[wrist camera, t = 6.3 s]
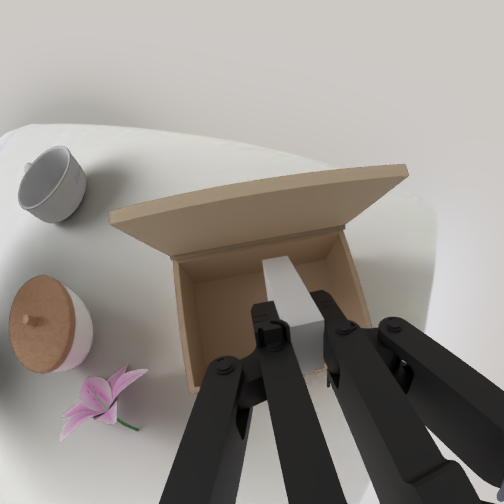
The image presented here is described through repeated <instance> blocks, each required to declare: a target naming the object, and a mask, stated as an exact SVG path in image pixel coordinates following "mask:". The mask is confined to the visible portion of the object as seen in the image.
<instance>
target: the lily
mask: <svg viewBox="0 0 504 504" xmlns="http://www.w3.org/2000/svg"><path fill="white" fill-rule="evenodd" d="M127 367H128V365H125V366H124V367H122V368H121V369H119V370H118V371H117V372H115V373H114V374H113V375H112V376H111V377H110V378H109V379H108V380H107V381H106V380H105V379H103V378H102V377H98V376H92V377H88V378H86V379H85V380H84V381H83V382H82V384H81V386H80V389H79V399H80V401H81V402H79V403H77V404H76V405H74V406H73V407H71V408H70V409H69V410H68V411H67V412H65V414H64V415H63V416H62V417H61V418H69V419H68V420H67V421H66V423H65V425H64V427H63V429H62V431H61V434H60V437H59V442H61V441H62V440H64V439H65V438H66V437H67V436H68V435H69V434H70V433H71V432H72V431H73V430H74V429H75V428H77V427H78V426H79V425H80V424H82V423H83V422H84V421H86V420H88V419H89V418H94V420H97V421H99V422H102V423H106V424H110V425H114V424H116V421H118V422H120V423H121V424H123V425H125V426H127V427H129V428H131V429H133V430H136V431H138V429H137V428H135V427H132V426H130V425H128V424H126V423H124V422H123V421H121V420H120V419H118V418H117V400H118V394H119V393H120V392H121V391H122V390H123V389H125V388H126V387H127V386H128V385H130V384H131V383H132V382H134V381H135V380H137V379H138V378H139V377H141V376H142V375H143V374H145V373H146V372H147V371H148V370H149V369H138V370H134V371H130V372H127V373H125V371H126V369H127ZM124 373H125V374H124Z"/></svg>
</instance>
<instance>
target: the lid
mask: <svg viewBox="0 0 504 504" xmlns="http://www.w3.org/2000/svg"><path fill="white" fill-rule="evenodd" d="M408 176H409V173H408V170H407V168H406V165H405V164H397V165H383V166H369V167H357V168H346V169H336V170H327V171H318V172H310V173H302V174H295V175H287V176H280V177H273V178H267V179H260V180H254V181H248V182H242V183H236V184H230V185H225V186H219V187H214V188H209V189H204V190H199V191H194V192H189V193H184V194H179V195H175V196H170V197H165V198H161V199H157V200H152V201H148V202H144V203H140V204H136V205H132V206H128V207H124V208H120V209H116V210H112V211H109V218H110V225H112V226H114V227H115V228H117V229H119V230H121V231H123V232H125V233H127V234H128V235H130V236H132V237H134V238H136V239H138V240H140V241H142V242H144V243H145V244H147V245H149V246H151V247H153V248H155V249H157V250H159V251H161V252H163V253H165V254H167V255H169V256H170V258H171V260H178V259H183V258H189V257H194V256H199V255H205V254H210V253H216V252H221V251H227V250H232V249H238V248H243V247H249V246H254V245H260V244H265V243H271V242H277V241H282V240H288V239H293V238H299V237H305V236H310V235H316V234H321V233H327V232H333V231H338V230H344V229H345V224H347V223H348V222H349V221H351V220H352V219H353V218H355V217H356V216H357V215H359V214H360V213H361V212H363V211H364V210H365V209H367V208H368V207H369V206H371V205H372V204H373V203H374V202H376V201H377V200H378V199H380V198H381V197H382V196H384V195H385V194H386V193H387V192H389V191H390V190H391V189H393V188H394V187H395V186H396V185H398V184H399V183H400V182H402V181H403V180H404V179H405V178H407V177H408Z"/></svg>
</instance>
